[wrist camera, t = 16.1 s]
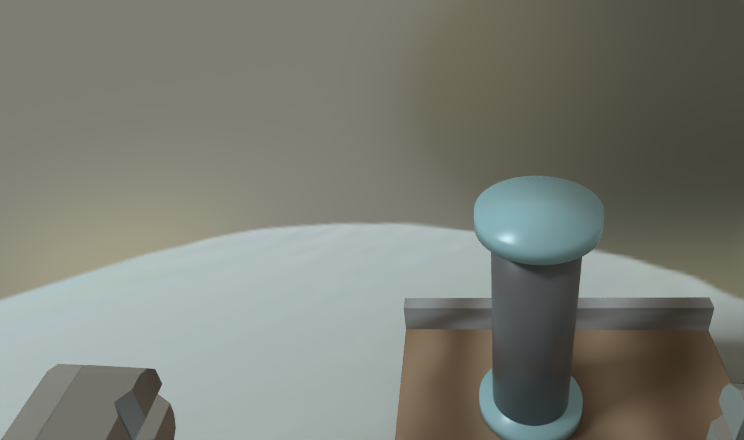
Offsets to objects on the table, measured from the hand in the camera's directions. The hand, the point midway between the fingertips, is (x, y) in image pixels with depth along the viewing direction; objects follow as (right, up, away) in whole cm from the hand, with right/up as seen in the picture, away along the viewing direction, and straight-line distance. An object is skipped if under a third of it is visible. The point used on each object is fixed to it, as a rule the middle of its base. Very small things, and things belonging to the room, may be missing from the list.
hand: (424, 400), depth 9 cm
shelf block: (+11, -12, +32) cm, 36 cm away
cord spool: (+9, -9, +30) cm, 32 cm away
